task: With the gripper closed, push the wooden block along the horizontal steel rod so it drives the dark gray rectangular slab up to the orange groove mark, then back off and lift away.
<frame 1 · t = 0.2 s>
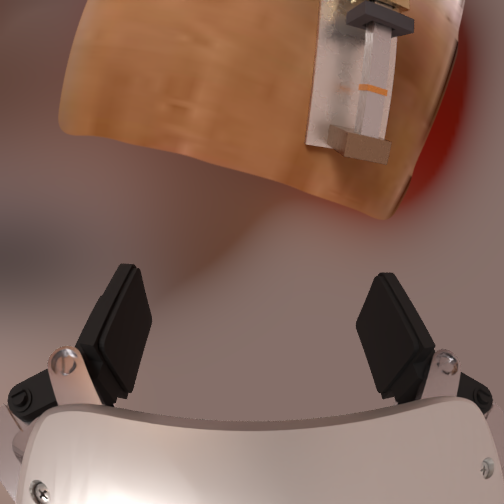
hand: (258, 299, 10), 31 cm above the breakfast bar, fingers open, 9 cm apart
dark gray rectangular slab: (378, 20, 20), point 7 cm above the breakfast bar, slide at -10.0 cm
pipe rig: (356, 52, 28), on the breakfast bar
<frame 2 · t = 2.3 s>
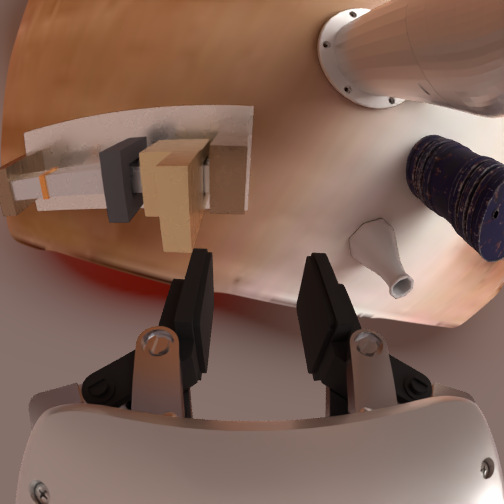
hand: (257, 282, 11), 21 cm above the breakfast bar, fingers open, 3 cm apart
storage jar: (432, 168, 29), on the breakfast bar
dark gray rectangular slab: (127, 176, 23), point 7 cm above the breakfast bar, slide at -10.0 cm
pipe rig: (120, 159, 28), on the breakfast bar
wooden block: (171, 184, 21), point 10 cm above the breakfast bar, slide at 0.0 cm
flask: (371, 240, 36), on the breakfast bar
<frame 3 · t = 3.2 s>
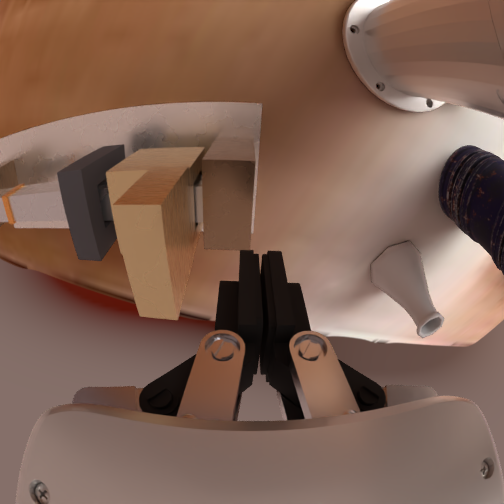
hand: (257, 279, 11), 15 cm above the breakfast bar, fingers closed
storage jar: (466, 183, 23), on the breakfast bar
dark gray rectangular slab: (99, 198, 17), point 7 cm above the breakfast bar, slide at -10.0 cm
pipe rig: (99, 170, 23), on the breakfast bar
wooden block: (150, 213, 15), point 9 cm above the breakfast bar, slide at 0.0 cm
flask: (394, 265, 30), on the breakfast bar
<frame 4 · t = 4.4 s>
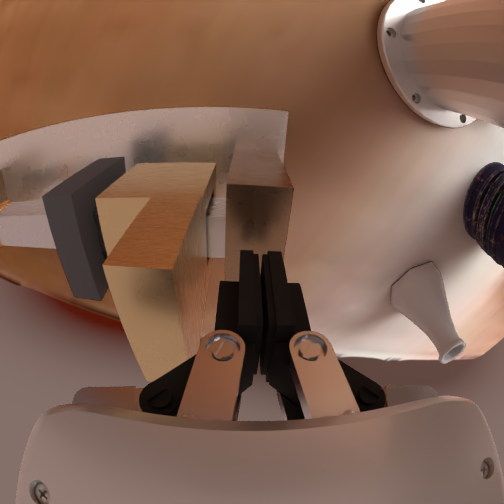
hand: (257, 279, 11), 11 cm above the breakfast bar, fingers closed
storage jar: (489, 201, 21), on the breakfast bar
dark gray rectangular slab: (96, 223, 14), point 7 cm above the breakfast bar, slide at -10.0 cm
pipe rig: (95, 184, 20), on the breakfast bar
wooden block: (153, 249, 12), point 10 cm above the breakfast bar, slide at 0.4 cm, touching gripper
flask: (414, 286, 27), on the breakfast bar
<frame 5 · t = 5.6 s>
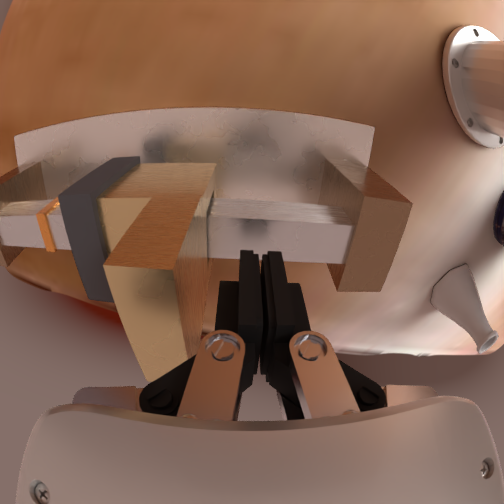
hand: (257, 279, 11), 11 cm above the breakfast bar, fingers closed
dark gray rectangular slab: (111, 223, 14), point 7 cm above the breakfast bar, slide at -4.5 cm, touching wooden block
pipe rig: (164, 182, 20), on the breakfast bar
wooden block: (153, 249, 12), point 10 cm above the breakfast bar, slide at 7.0 cm, touching gripper, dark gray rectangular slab
flask: (450, 285, 28), on the breakfast bar
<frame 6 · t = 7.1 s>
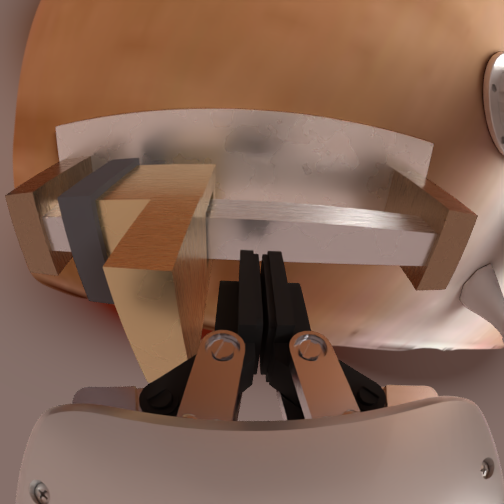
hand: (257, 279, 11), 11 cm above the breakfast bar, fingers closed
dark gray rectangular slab: (111, 225, 14), point 7 cm above the breakfast bar, slide at 1.5 cm, touching wooden block
pipe rig: (240, 185, 21), on the breakfast bar
wooden block: (153, 251, 12), point 10 cm above the breakfast bar, slide at 13.0 cm, touching gripper, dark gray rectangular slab
flask: (476, 283, 28), on the breakfast bar
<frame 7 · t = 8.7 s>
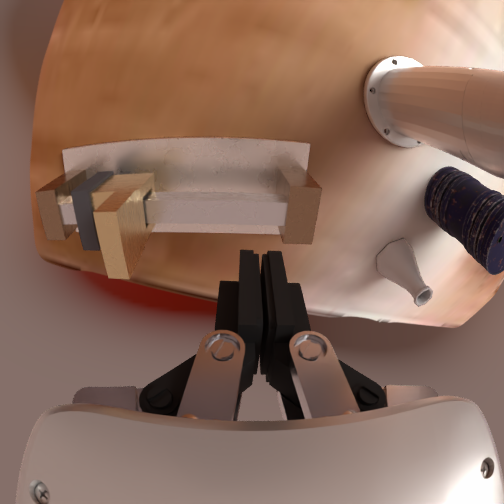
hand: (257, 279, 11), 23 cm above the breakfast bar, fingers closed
storage jar: (445, 194, 34), on the breakfast bar
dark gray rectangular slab: (97, 208, 25), point 7 cm above the breakfast bar, slide at 1.6 cm, touching wooden block
pipe rig: (176, 185, 32), on the breakfast bar
wooden block: (117, 218, 23), point 9 cm above the breakfast bar, slide at 13.1 cm, touching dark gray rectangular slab
flask: (393, 257, 40), on the breakfast bar
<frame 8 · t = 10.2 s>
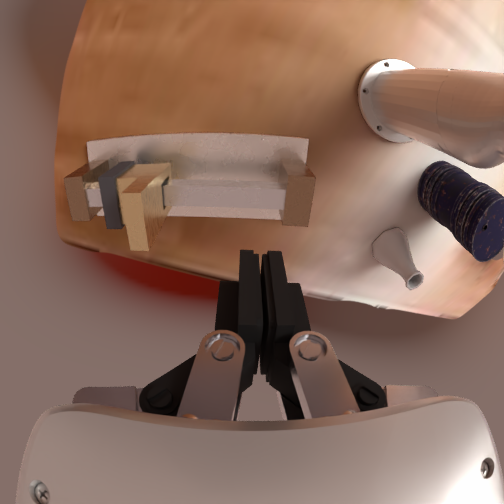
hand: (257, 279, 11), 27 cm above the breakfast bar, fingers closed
storage jar: (438, 187, 37), on the breakfast bar
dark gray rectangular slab: (120, 193, 30), point 7 cm above the breakfast bar, slide at 1.6 cm, touching wooden block
pipe rig: (190, 174, 36), on the breakfast bar
wooden block: (139, 200, 28), point 10 cm above the breakfast bar, slide at 13.1 cm, touching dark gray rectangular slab
flask: (389, 244, 43), on the breakfast bar
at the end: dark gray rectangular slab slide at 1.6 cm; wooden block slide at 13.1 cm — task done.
